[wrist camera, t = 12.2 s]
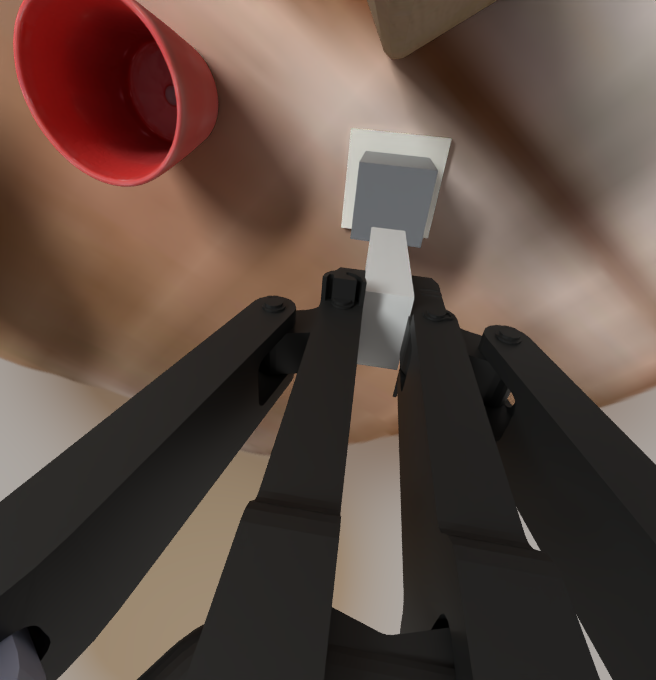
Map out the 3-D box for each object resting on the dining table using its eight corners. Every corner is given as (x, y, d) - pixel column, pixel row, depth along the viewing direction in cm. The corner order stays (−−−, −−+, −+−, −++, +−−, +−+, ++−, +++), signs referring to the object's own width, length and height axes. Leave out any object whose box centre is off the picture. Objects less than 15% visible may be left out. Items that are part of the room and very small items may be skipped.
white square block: (341, 225, 34) (331, 250, 28) (352, 127, 30) (341, 134, 24) (427, 236, 33) (434, 264, 28) (450, 138, 29) (464, 146, 23)
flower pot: (264, 114, 30) (217, 118, 22) (179, 189, 35) (114, 216, 26) (172, -30, 26) (72, -89, 18) (89, 77, 30) (-20, 68, 22)
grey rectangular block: (357, 215, 32) (350, 238, 27) (365, 150, 29) (359, 161, 24) (415, 222, 32) (420, 247, 26) (429, 157, 29) (438, 170, 24)
